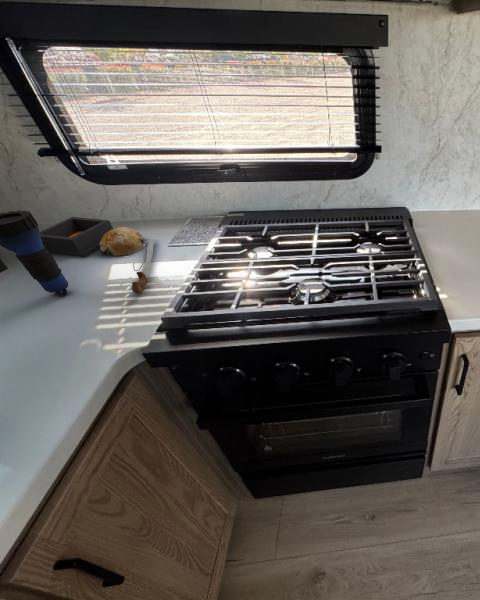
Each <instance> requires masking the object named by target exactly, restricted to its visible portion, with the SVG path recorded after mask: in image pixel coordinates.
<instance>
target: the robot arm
mask: <svg viewBox="0 0 480 600" xmlns="http://www.w3.org/2000/svg"><path fill="white" fill-rule="evenodd" d="M6 270H9V267H8V266H7V265H6V264H5V262H4V261H3V260H2V259H1V258H0V274H1V273H3V272H5V271H6Z"/></svg>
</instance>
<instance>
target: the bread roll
mask: <svg viewBox="0 0 480 600" xmlns="http://www.w3.org/2000/svg"><path fill="white" fill-rule="evenodd" d="M99 244H100V247H101V248H100V252H101V253H102V254H106V255H107V256H114V257H120V256H126V255H130V254H131V255H132V254H133V253H136V252H138V251H140V250H141V249H142V248H145V247H146V244H145V241H144V237H143V235H142V234H141V233H140V232H139V231H138V230H136V229H133V228H131V227H126V226H120V227H115V228H113V229H112V230H110V231H109V232H107V233H106V234H105V235H104V236H103V237H102V240H101V242H100V243H99Z"/></svg>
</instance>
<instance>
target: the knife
mask: <svg viewBox="0 0 480 600" xmlns="http://www.w3.org/2000/svg"><path fill="white" fill-rule="evenodd" d="M154 243H155V241H154V239H151V240H150V241H149V242H148V244H147V250H146V258H145V263H144V266H143V268H142V270H140V271H136V272H135V273H136V275H137V277H138V281H132V283H131V290H132V293H134V294H142V293H143V291H144V290H145V287H146V284H147V282H148V276H149V271H150V268H151V263H152V259H153V253H154V246H155V245H154Z"/></svg>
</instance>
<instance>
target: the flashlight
mask: <svg viewBox="0 0 480 600" xmlns="http://www.w3.org/2000/svg"><path fill="white" fill-rule="evenodd" d="M40 232H41V231H40V227H39V223H38V222H37V220H36V219H35V217H34V216H33V214H32V212H30V210H29V211H28V210H14V211H13V210H10V211H7V212H0V247H1V248H4V249H6V250H8V251H10V252H12V253H15V257H16V259H17V260H18V261H19V262H20V263H21V264H22V266H23V268H25V270H26V271H27V272H28V274H29V275H30V276H31V278H32V279H33V280H35V281H37V283H38V284H39V285H40V286H41V287H42V289H43V290H44V291H45V292H47V293H50V294H56V295H58V296H63V297H64V296H67V295H68V290H67V289H68V287H69V281H68V280H67V278H66V277H65V276H64V274H63V273H62V269H61V268H60V267H59V264H58V263H57V261H56V260H55V258H54V257H53V255H52V254H51V253H50V252H49V251H48V249H47V248H46V247H44V245H43V244H42V240H41V236H40Z"/></svg>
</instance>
